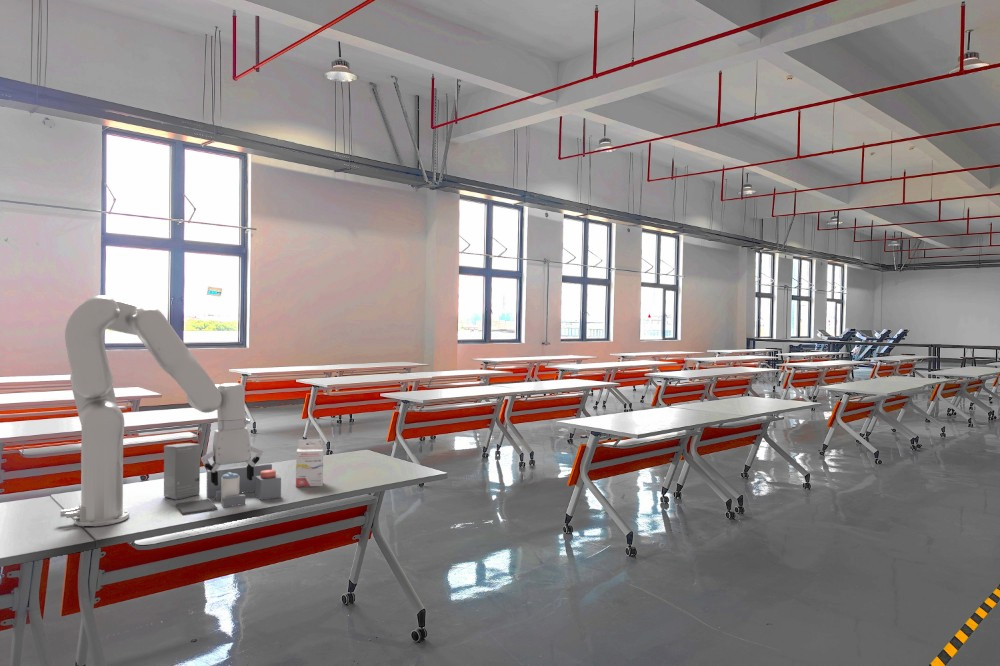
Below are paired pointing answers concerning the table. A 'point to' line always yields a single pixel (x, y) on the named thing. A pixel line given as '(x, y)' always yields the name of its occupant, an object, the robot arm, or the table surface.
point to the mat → (196, 506)
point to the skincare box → (181, 470)
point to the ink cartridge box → (309, 463)
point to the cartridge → (229, 485)
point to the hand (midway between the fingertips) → (232, 482)
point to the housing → (246, 485)
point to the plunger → (268, 474)
